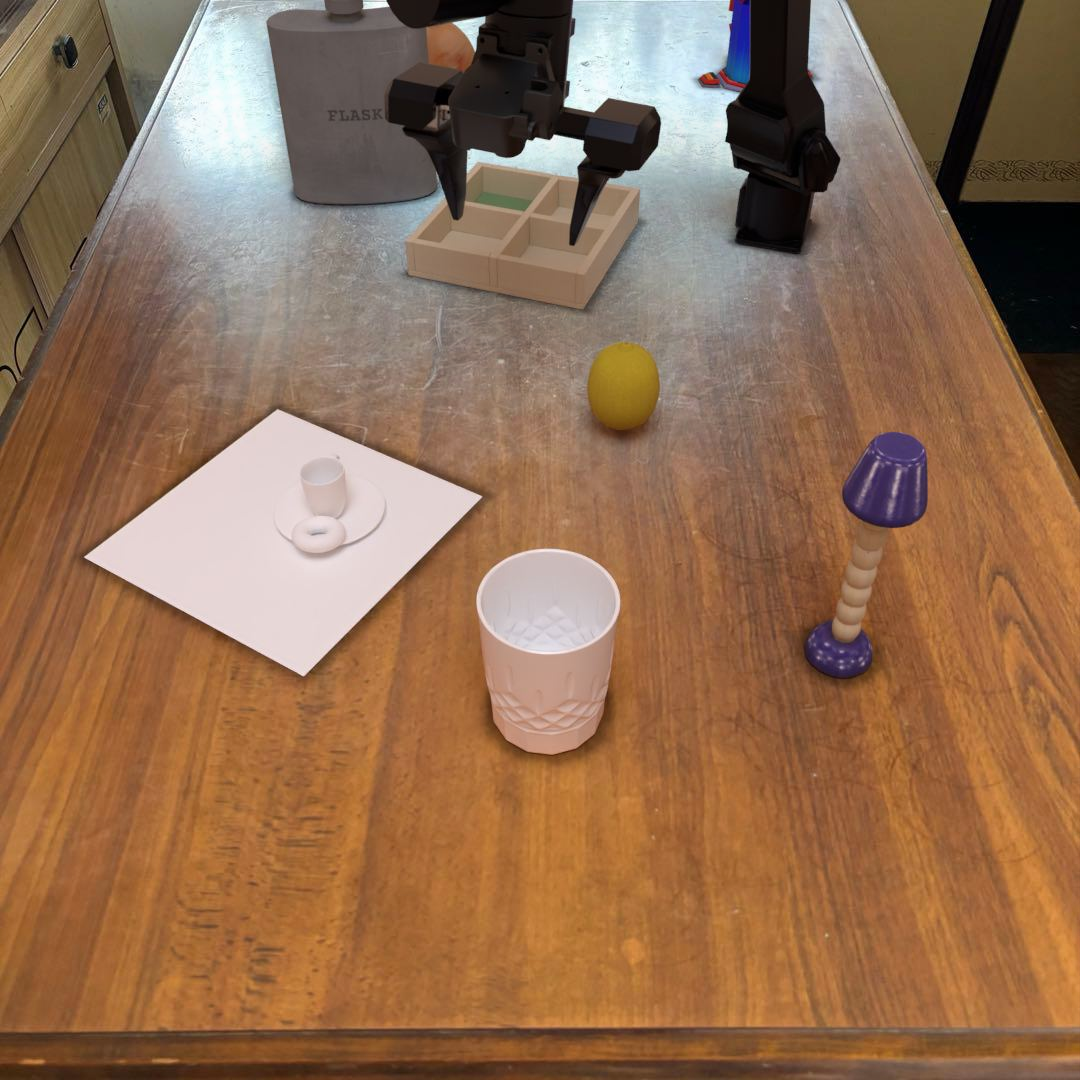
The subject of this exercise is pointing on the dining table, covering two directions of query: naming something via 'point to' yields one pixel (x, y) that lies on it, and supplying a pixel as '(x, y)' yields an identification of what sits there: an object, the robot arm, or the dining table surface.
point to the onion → (449, 47)
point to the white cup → (548, 646)
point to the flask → (347, 103)
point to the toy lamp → (870, 544)
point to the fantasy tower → (735, 52)
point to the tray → (523, 236)
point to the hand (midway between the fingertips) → (514, 231)
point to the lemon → (623, 385)
